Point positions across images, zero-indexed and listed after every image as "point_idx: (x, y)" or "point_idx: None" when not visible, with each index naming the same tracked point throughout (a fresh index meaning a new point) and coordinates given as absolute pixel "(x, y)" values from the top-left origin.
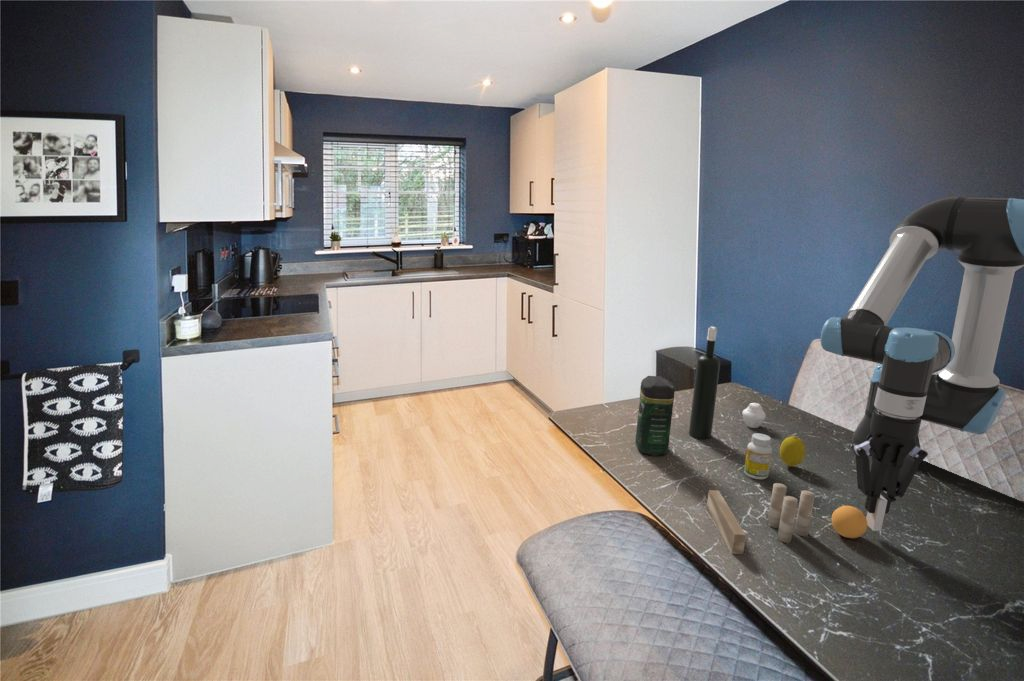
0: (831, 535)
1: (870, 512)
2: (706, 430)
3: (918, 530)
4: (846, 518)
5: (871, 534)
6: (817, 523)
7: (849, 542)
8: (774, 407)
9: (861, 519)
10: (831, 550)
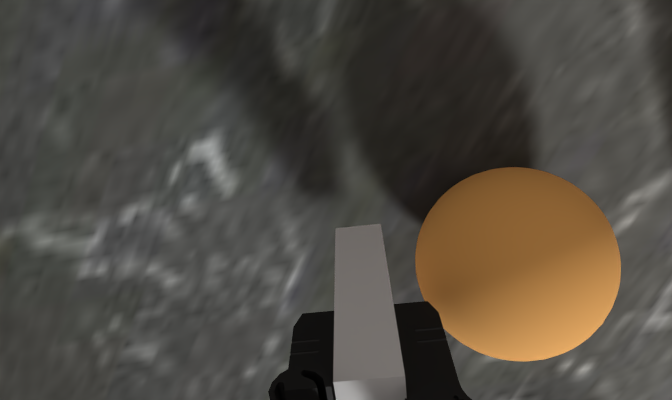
0: None
1: (423, 303)
2: None
3: (104, 318)
4: (597, 236)
5: None
6: None
7: (502, 159)
8: None
9: (504, 235)
10: (656, 59)
